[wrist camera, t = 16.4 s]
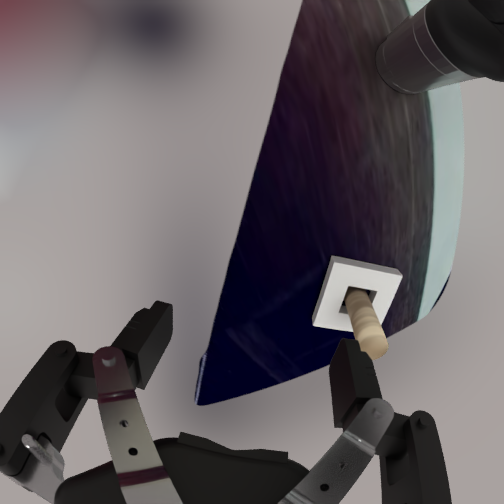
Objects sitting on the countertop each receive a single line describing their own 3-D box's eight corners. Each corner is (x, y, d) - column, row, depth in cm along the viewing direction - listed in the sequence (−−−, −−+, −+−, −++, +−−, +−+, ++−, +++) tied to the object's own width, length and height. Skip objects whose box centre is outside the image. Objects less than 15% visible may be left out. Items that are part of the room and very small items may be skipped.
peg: (347, 281, 44) (366, 336, 31) (368, 285, 43) (393, 339, 31) (340, 302, 45) (354, 359, 32) (361, 305, 45) (380, 361, 32)
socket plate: (331, 255, 42) (334, 262, 40) (397, 269, 42) (402, 276, 39) (312, 317, 47) (313, 325, 45) (373, 326, 46) (376, 334, 44)
